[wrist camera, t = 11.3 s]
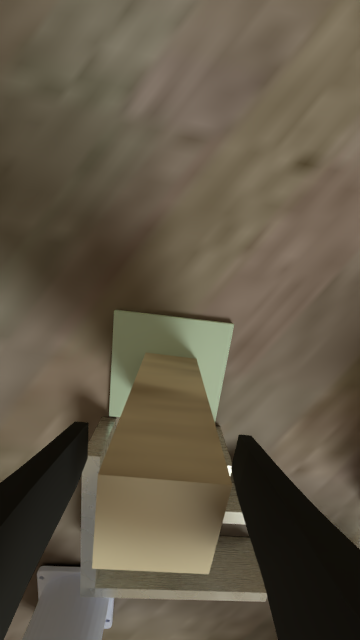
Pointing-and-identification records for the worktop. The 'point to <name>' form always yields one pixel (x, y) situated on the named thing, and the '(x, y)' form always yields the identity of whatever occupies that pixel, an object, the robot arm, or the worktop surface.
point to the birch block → (162, 475)
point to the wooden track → (220, 584)
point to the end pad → (166, 350)
